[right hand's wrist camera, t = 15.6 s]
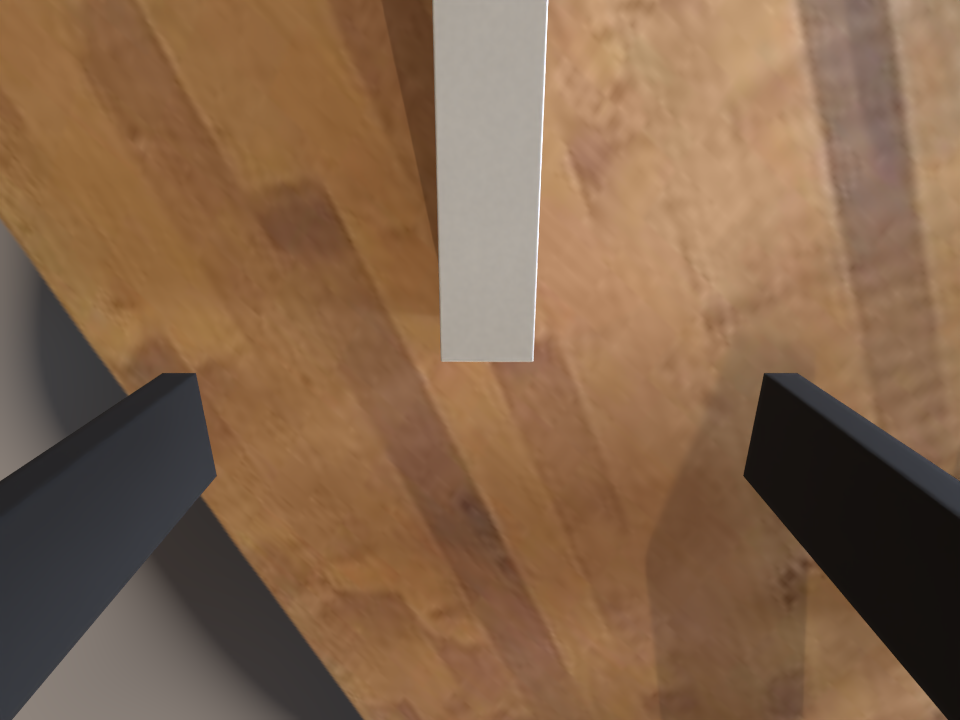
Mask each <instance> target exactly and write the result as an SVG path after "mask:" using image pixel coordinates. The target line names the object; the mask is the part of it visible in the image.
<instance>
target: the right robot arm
mask: <svg viewBox="0 0 960 720" xmlns="http://www.w3.org/2000/svg"><path fill="white" fill-rule="evenodd" d="M216 476H217V475H216V470H215V465H214V460H213V455H212V451H211V446H210V441H209V436H208V431H207V426H206V421H205V416H204V411H203V406H202V401H201V396H200V391H199V386H198V382H197V377H196V373H162V374H161V375H159V376H158V377H156V378H155V379H153V380H152V381H150V382H149V383H147V384H146V385H144V386H143V387H141V388H140V389H138V390H137V391H135V392H134V393H132V394H131V395H129V396H128V397H126V398H125V399H123V400H122V401H120V402H119V403H117V404H116V405H114V406H113V407H111V408H110V409H108V410H107V411H105V412H104V413H102V414H101V415H99V416H98V417H96V418H95V419H93V420H92V421H90V422H89V423H87V424H86V425H84V426H83V427H81V428H80V429H78V430H77V431H75V432H74V433H72V434H71V435H69V436H68V437H66V438H65V439H63V440H62V441H60V442H58V443H57V444H55V445H54V446H53V447H51V448H49V449H48V450H46V451H45V452H43V453H42V454H40V455H39V456H37V457H36V458H34V459H33V460H31V461H30V462H28V463H27V464H25V465H24V466H22V467H21V468H19V469H18V470H17V471H15V472H13V473H12V474H10V475H9V476H7V477H6V478H4V479H3V480H1V481H0V720H12V719H13V718H14V717H15V715H16V714H17V713H18V712H19V711H20V710H21V708H22V707H23V706H24V705H25V703H26V702H27V701H28V700H29V699H30V698H31V696H32V695H33V694H34V693H35V692H36V690H37V689H38V688H39V687H40V686H41V684H42V683H43V682H44V681H45V680H46V679H47V677H48V676H49V675H50V674H51V673H52V671H53V670H54V669H55V668H56V667H57V665H58V664H59V663H60V662H61V661H62V660H63V658H64V657H65V656H66V655H67V653H68V652H69V651H70V650H71V649H72V648H73V646H74V645H75V644H76V643H77V642H78V640H79V639H80V638H81V637H82V636H83V634H84V633H85V632H86V631H87V630H88V629H89V627H90V626H91V625H92V624H93V623H94V621H95V620H96V619H97V618H98V617H99V615H100V614H101V613H102V612H103V611H104V609H105V608H106V607H107V606H108V605H109V603H110V602H111V601H112V600H113V599H114V598H115V596H116V595H117V594H118V593H119V592H120V590H121V589H122V588H123V587H124V586H125V584H126V583H127V582H128V581H129V580H130V579H131V577H132V576H133V575H134V574H135V573H136V571H137V570H138V569H139V568H140V567H141V565H142V564H143V563H144V562H145V561H146V559H147V558H148V557H149V556H150V555H151V553H152V552H153V551H154V550H155V549H156V547H157V546H158V545H159V544H160V543H161V542H162V540H163V539H164V538H165V537H166V536H167V534H168V533H169V532H170V531H171V530H172V528H173V527H174V526H175V525H176V524H177V523H178V521H179V520H180V519H181V518H182V517H183V515H184V514H185V513H186V512H187V511H188V509H189V508H190V507H191V506H192V505H193V503H194V502H195V501H196V500H197V499H198V497H199V496H200V495H201V494H202V493H203V492H204V490H205V489H206V488H207V487H208V486H209V484H210V483H211V482H212V481H213V480H214V478H215V477H216ZM743 476H744V477H745V478H746V480H747V481H748V482H749V483H750V484H751V486H752V487H753V488H754V489H755V490H756V492H757V493H758V494H759V495H760V496H761V498H762V499H763V500H764V501H765V502H766V503H767V505H768V506H769V507H770V508H771V509H772V511H773V512H774V513H775V514H776V515H777V517H778V518H779V519H780V520H781V521H782V523H783V524H784V525H785V526H786V527H787V528H788V530H789V531H790V532H791V533H792V534H793V536H794V537H795V538H796V539H797V540H798V542H799V543H800V544H801V545H802V546H803V548H804V549H805V550H806V551H807V552H808V553H809V555H810V556H811V557H812V558H813V559H814V561H815V562H816V563H817V564H818V565H819V567H820V568H821V569H822V570H823V571H824V573H825V574H826V575H827V576H828V577H829V579H830V580H831V581H832V582H833V583H834V584H835V586H836V587H837V588H838V589H839V590H840V592H841V593H842V594H843V595H844V596H845V598H846V599H847V600H848V601H849V602H850V604H851V605H852V606H853V607H854V608H855V609H856V611H857V612H858V613H859V614H860V615H861V617H862V618H863V619H864V620H865V621H866V623H867V624H868V625H869V626H870V627H871V629H872V630H873V631H874V632H875V633H876V634H877V636H878V637H879V638H880V639H881V640H882V642H883V643H884V644H885V645H886V646H887V648H888V649H889V650H890V651H891V652H892V654H893V655H894V656H895V657H896V658H897V660H898V661H899V662H900V663H901V664H902V665H903V667H904V668H905V669H906V670H907V671H908V673H909V674H910V675H911V676H912V677H913V679H914V680H915V681H916V682H917V683H918V685H919V686H920V687H921V688H922V689H923V690H924V692H925V693H926V694H927V695H928V696H929V698H930V699H931V700H932V701H933V702H934V704H935V705H936V706H937V707H938V708H939V710H940V711H941V712H942V713H943V714H944V715H945V717H946V718H947V719H948V720H960V481H959V480H957V479H956V478H954V477H953V476H951V475H950V474H948V473H947V472H945V471H944V470H942V469H941V468H939V467H938V466H936V465H935V464H933V463H932V462H930V461H929V460H927V459H926V458H924V457H923V456H921V455H920V454H918V453H917V452H915V451H914V450H912V449H911V448H909V447H908V446H906V445H905V444H903V443H901V442H900V441H898V440H897V439H895V438H894V437H892V436H891V435H889V434H888V433H886V432H885V431H883V430H882V429H880V428H879V427H877V426H876V425H874V424H873V423H871V422H870V421H868V420H867V419H865V418H864V417H862V416H861V415H859V414H858V413H856V412H855V411H853V410H852V409H850V408H849V407H847V406H846V405H844V404H843V403H841V402H840V401H838V400H837V399H835V398H834V397H832V396H831V395H829V394H828V393H826V392H825V391H823V390H822V389H820V388H819V387H817V386H816V385H814V384H813V383H811V382H810V381H808V380H807V379H805V378H804V377H802V376H801V375H799V374H798V373H764V377H763V382H762V386H761V391H760V396H759V401H758V406H757V411H756V416H755V421H754V426H753V431H752V436H751V441H750V446H749V451H748V455H747V460H746V465H745V470H744V475H743Z"/></svg>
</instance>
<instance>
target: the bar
mask: <svg viewBox="0 0 960 720" xmlns="http://www.w3.org/2000/svg"><path fill="white" fill-rule="evenodd" d="M432 9H433V50H434V92H435V134H436V176H437V217H438V259H439V301H440V342H441V361H442V362H533V355H534V331H535V306H536V282H537V258H538V233H539V209H540V184H541V160H542V136H543V111H544V87H545V63H546V38H547V14H548V0H432Z"/></svg>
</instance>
